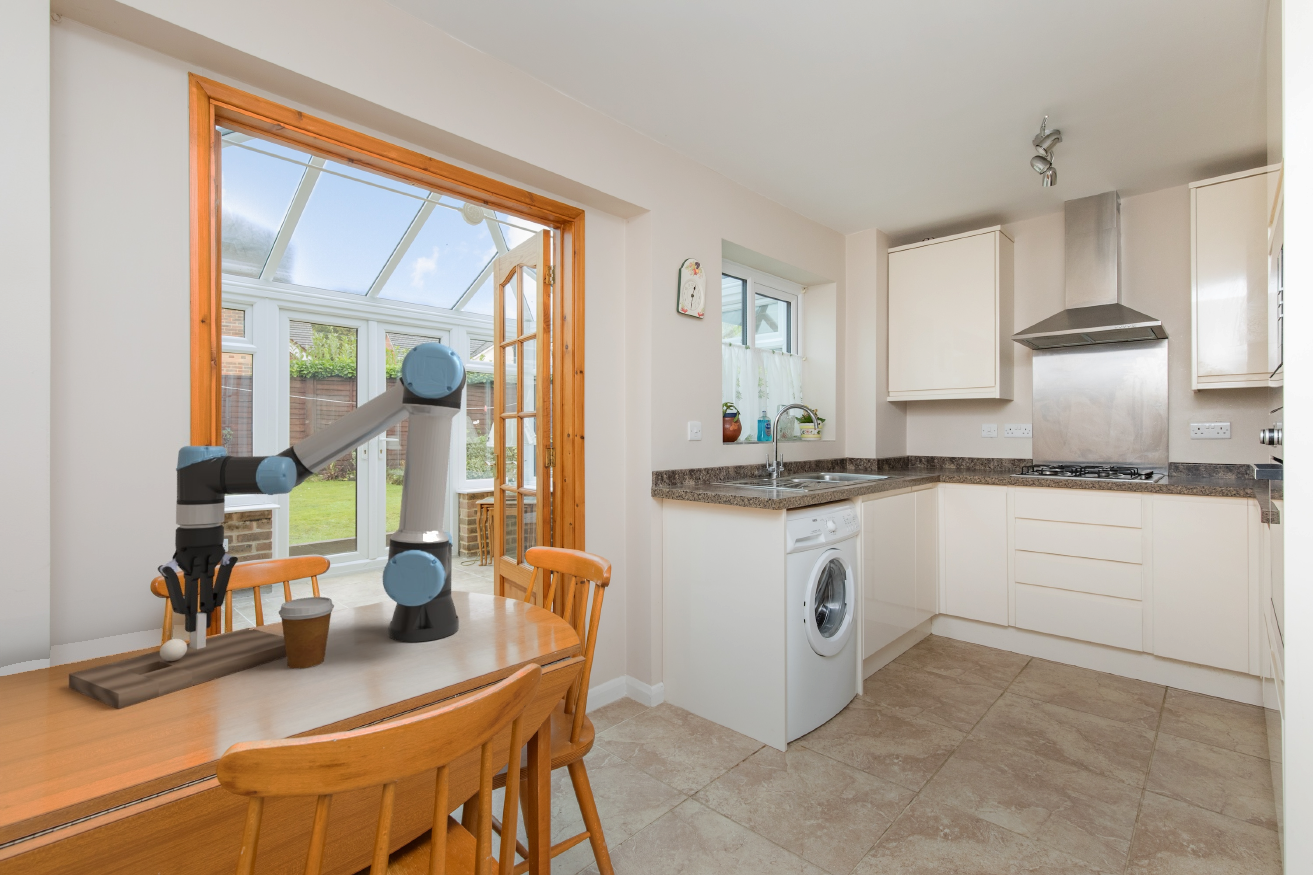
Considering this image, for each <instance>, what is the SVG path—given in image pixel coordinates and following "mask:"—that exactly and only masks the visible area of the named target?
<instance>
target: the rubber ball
mask: <svg viewBox="0 0 1313 875" xmlns="http://www.w3.org/2000/svg"><path fill="white" fill-rule="evenodd" d="M186 644H187V642H186V641H184V640H183V639H181V638H172V639H169V640H167V641H165V643H163V645H162V646H160V649H159V651H160V656H161V657H162V658H163V659H164V660H166V661H176V660H178V659H180V658H182V657H183V656H184V655H185V653H186V651H187V645H186Z"/></svg>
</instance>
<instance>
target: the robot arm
mask: <svg viewBox="0 0 1313 875" xmlns="http://www.w3.org/2000/svg"><path fill="white" fill-rule="evenodd" d="M400 373H401V377H399V378H397V381H396V385H394V386H393V387H391V388H389V389H387V390H386V391H384V392H382V393H380V394H379V395H377V396H375V397H373V398H372V399H370V400H368V401H367V402H365V403H363V404H361V405H360V406H359V407H358V406H357V407H356V408H355V409H353V410H352V411H350V412H348V413H346V414H344V415H343V416H341V417H339V418H338V419H336V420H335V421H332V422H331V423H330V424H327V425H325V426H324V427H322V428H321V429H319V430H317V431H315V432H314V433H312V434H310V435H308V436H307V437H305V438H303V439H302V440H300V441H297V443H294V444H293V445H292V446H290V447H288V448H286V449H285V450H283V451H281V452H279V453H278V454H276V455H263V456H261V455H259V456H255V455H254V456H253V455H251V456H234V455H233V456H232V455H227V450H226V447H224V446H220V445H218V446H217V445H216V446H215V445H212V446H211V445H186V446H185V445H184V446H183V447H180V449H179V450H178V456H177V464H176V468H175V471H176V504H175V506H176V507H175V509H176V510H175V524H176V525H177V528H176V529H175V541H174V542H175V543H174V546H175V552H174V554H173V555H172V560H170V561H168V562H167V563H166V564H164V565H162V564H161V565H159V566H158V567H157V571H158V572H159V573H160V575H162V577H163V579H164V583H165V587H166V590H167V594H168V597H169V601H170V604H171V608H172V611H173V613H176V614H179V615H184V631H186V632H187V633H189V643H190V647H192V648H195V649H200V648H204V647H206V639H207V629H211V625H212V613H214V612H215V610H216V609H217V608H219V607H222V606H223V604H224V600H225V596H226V593H227V590H228V587H229V586H228V585H229V582H230V579H231V574H232V572H233V568H234V567H235V565H236V564H237V562H238V561H239V558H238V557H237V556H233V555H231V554H228V553H226V549H225V547H224V541H225V525H223V524H222V523H223V522H225V507H226V506H225V505H226V504H225V501H226V500H225V497H226V495H267V496H273V495H283V494H285V495H286V494H289V493H290V492H292V491H293V489H295V488H296V487H298V486H300V485H301V484H302V483H303V482H305V480H306V479H308V478H310V477H312V476H313V475H314V474H315V473H318V472H319V471H321V470H323V469H325V468H326V467H328V466H329V465H331V464H333V463H334V462H336V461H338V460H339V459H341V458H342V457H344V456H346V455H348V454H349V453H351V452H352V451H354V450H356V449H358V448H359V447H361V446H363V445H364V444H366V443H367V442H370V441H371V440H373V439H375V438H376V437H378V436H380V435H381V434H383V433H385V432H386V431H387V430H389V429H392V428H394V427H395V426H396V425H398V424H400V423H401V422H403V421H405V420H407V419H408V422H407V435H406V444H405V446H406V447H405V456H404V467H403V468H404V469H403V479H402V480H403V481H402V488H401V489H402V491H401V501H400V512H399V513H400V514H399V523H398V524H399V525H398V529H397V530H396V531H395V532H394V533H392V534H391V535H390V537H389V544H388V546H389V547H388V548H389V549H388V557H387V563H386V564H385V566H384V567H383V568H384V569H383V570H382V586H383V589H384V591H385V593H386V595H388V597H389V598H390V599H391V600H392V601H394V602H395V603H396V605H395V608H394V611H393V614H392V618H391V620H390V623H389V625H388V637H389V638H390V639H392V640H394V641H400V642H407V643H408V642H411V643H412V642H413V643H414V642H415V643H417V642H428V641H434V640H439V639H442V638H446V637H449V636H451V635H453V634H456V633H457V631H459V630H460V624H459V623H460V618H459V616H458V615H457V612H456V611H457V610H456V607H455V606H456V605H455V604H454V600H453V597H452V566H453V565H452V562H453V561H452V559H453V557H452V554H453V550H452V549H453V539H452V538H453V537H452V534H451V533H450V532H449V531H448V532H446V531H444V529H443V528H444V527H443V526H444V516H445V506H446V505H445V504H446V496H447V495H446V493H447V482H448V470H449V459H450V449H451V448H450V446H451V436H452V426H453V424H452V423H453V418H454V417H455V416H456V415H458V414H459V413H460V412H461V407H462V398H463V397H462V395H463V390H464V388H465V385H466V382H467V372H466V368H465V365H463V362H462V359H461V357H460V356H459V354H458V352H456V351H455V350H454V349H453V348H451V347H450V346H447V345H445V344H442V343H439V342H424V343H420V344H418V345H416V346H414V347H413V348H411V349H410V350H409V351H408V352H407V353H406V355H405V356H404V358H403V361H402V363H401V367H400ZM178 526H179V527H178ZM219 564H220V565H219ZM217 566H219V568H218V570H217V575H216V567H217ZM178 568H179V569H180V570H181V571H182V572H183V579H184V594H183V590H182V587H181V586H182V585H181V582H180V578H179V576H178V573H177V572H178ZM215 576H216V578H215ZM214 578H215V582H214ZM199 610H200V611H199Z"/></svg>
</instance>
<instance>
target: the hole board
mask: <svg viewBox="0 0 1313 875" xmlns="http://www.w3.org/2000/svg"><path fill="white" fill-rule="evenodd" d="M249 629H253V630H249ZM186 645H187V651H186V653H185V655H184V656H183V657H182V658H180V659H178V660H176V661H166V660H164V659H163V658H162V657H161V656H160V650H157V651H153V652H149V653H145V654H141V655H138V656H134V657H130V658H126V659H122V660H118V661H117V660H116V661H113V662H109V663H105V664H103V665H99V666H95V667H91V668H87V669H86V668H85V669H83V670H79V671H76V672H72V673H71V672H70V673H68V689H70V690H73V691H75V692H77V693H80V694H83V695H84V696H86V697H89V698H91V699H93V700H96V701H98V702H101V703H103V704H105V705H108V706H110V707H112V708H115V709H117V710H121V709H124V708H126V707H130V706H133V705H136V704H140V703H142V702H147V701H149V700H151V699H154V698H158V697H161V696H164V695H168V694H171V693H174V692H177V691H180V690H184V689H187V688H190V687H193V685H194V686H197V685H200V684H203V683H206V682H210V681H213V680H216V679H220V678H222V677H225V676H229V675H231V674H234V673H238V672H240V671H245V670H247V669H251V668H254V667H256V666H257V665H258V666H261V665H264V664H267V663H270V662H274V661H277V660H279V659H282V658H287V657H286V650H285V642H284V635H283V636H282V635H279V634H275V633H271V632H266V631H262V630H259V629H255V628H250V627H247V628H241V629H239V630H235V631H231V632H230V631H229V632H227V633H223V634H219V635H216V636H211V637H206V647H204V648H200V649H195V648H192V647H190V642H188V643H186ZM260 664H261V665H260ZM215 678H216V679H215ZM209 680H210V681H209Z"/></svg>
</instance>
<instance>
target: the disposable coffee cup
mask: <svg viewBox="0 0 1313 875" xmlns="http://www.w3.org/2000/svg"><path fill="white" fill-rule="evenodd" d="M334 607H335V605H334V604H333V601H332V598H329V597H325V596H311V597H302V598H296V599H292V600H288V601H286V602H283V603H282V604H281V606H280V610H279V611H278V615H279V617H280V618H281V624H282V625H281V626H282V633H283V634H282V635H283V637H284V642H285V650H286V657H285V658H286V665H287V668H290V669H294V668H300V669H307V668H313V667H316V666H318V665H321V664H322V663H324V662H325V658H326V657H325V656H326V649H327V645H328V644H327V642H328V636H329V630H330V624H331V623H330V622H331V616H332V612H333V609H334ZM312 666H313V667H312Z"/></svg>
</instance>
